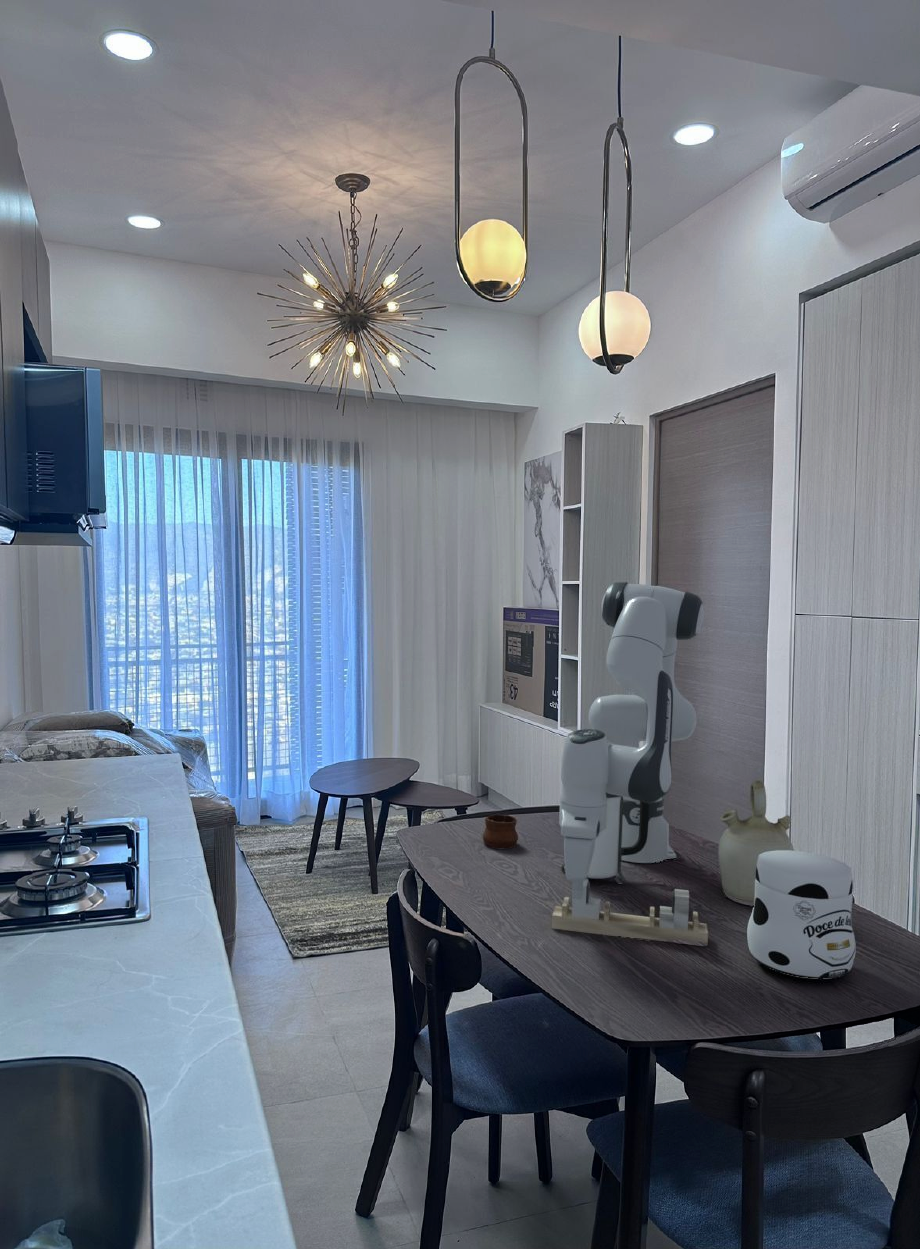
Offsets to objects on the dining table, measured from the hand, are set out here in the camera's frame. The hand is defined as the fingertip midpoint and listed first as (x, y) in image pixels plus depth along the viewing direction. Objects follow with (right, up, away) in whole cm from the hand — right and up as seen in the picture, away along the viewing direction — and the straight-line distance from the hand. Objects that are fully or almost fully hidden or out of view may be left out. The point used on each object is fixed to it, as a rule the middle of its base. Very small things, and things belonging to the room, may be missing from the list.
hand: (579, 889), depth 163 cm
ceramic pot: (-13, -5, +53) cm, 55 cm away
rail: (+9, -7, -2) cm, 12 cm away
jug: (+39, -8, +20) cm, 45 cm away
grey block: (+1, -5, 0) cm, 5 cm away
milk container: (+36, -9, -14) cm, 39 cm away
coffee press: (+8, -7, +30) cm, 32 cm away
